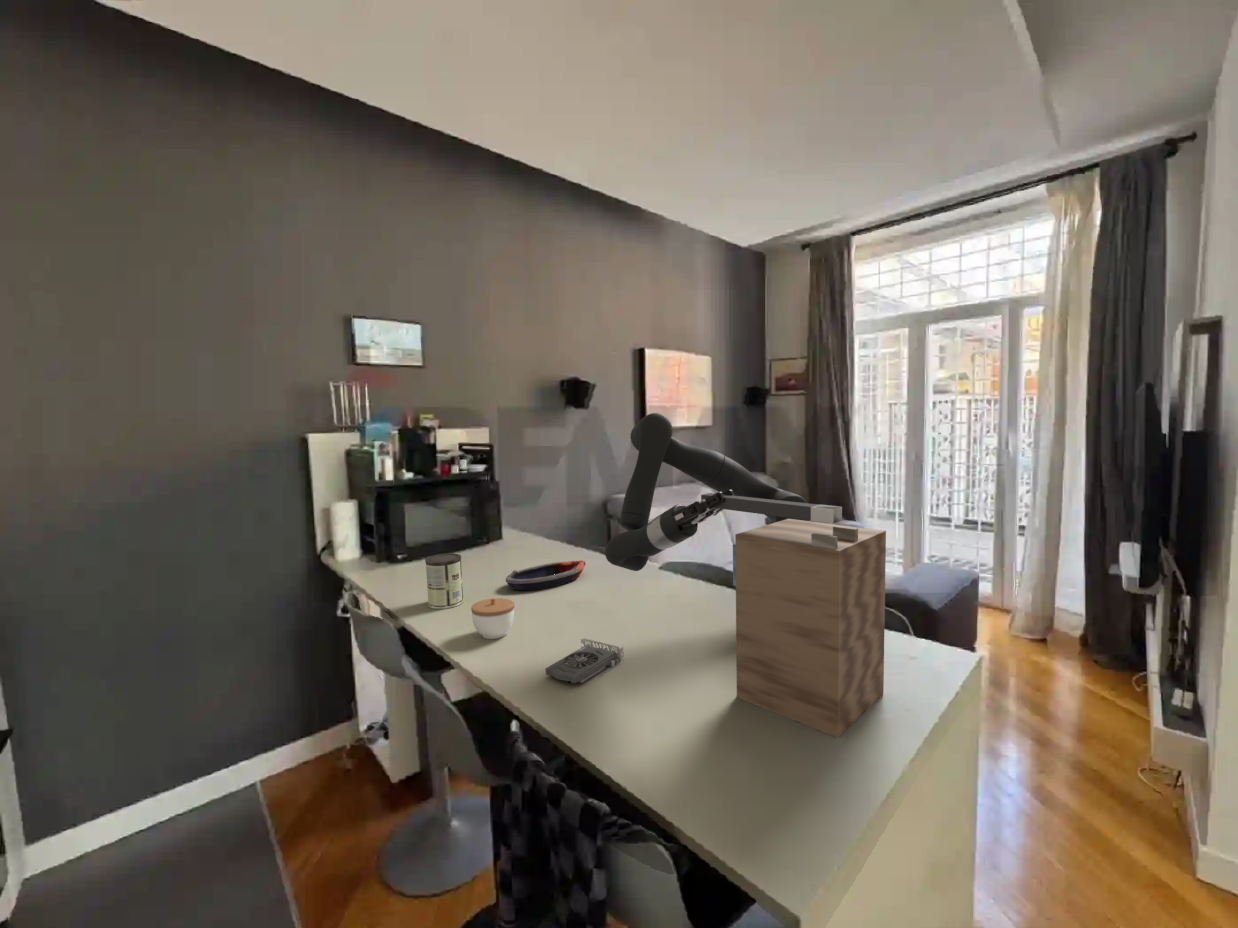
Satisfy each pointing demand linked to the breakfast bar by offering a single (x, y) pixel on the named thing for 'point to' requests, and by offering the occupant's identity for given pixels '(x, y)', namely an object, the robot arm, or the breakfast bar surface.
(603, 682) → the breakfast bar surface
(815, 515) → the dark gray rectangular panel
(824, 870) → the breakfast bar surface
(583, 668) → the graphics card
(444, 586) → the coffee can
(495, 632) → the lidded jar
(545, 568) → the dish
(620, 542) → the robot arm
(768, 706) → the cabinet
